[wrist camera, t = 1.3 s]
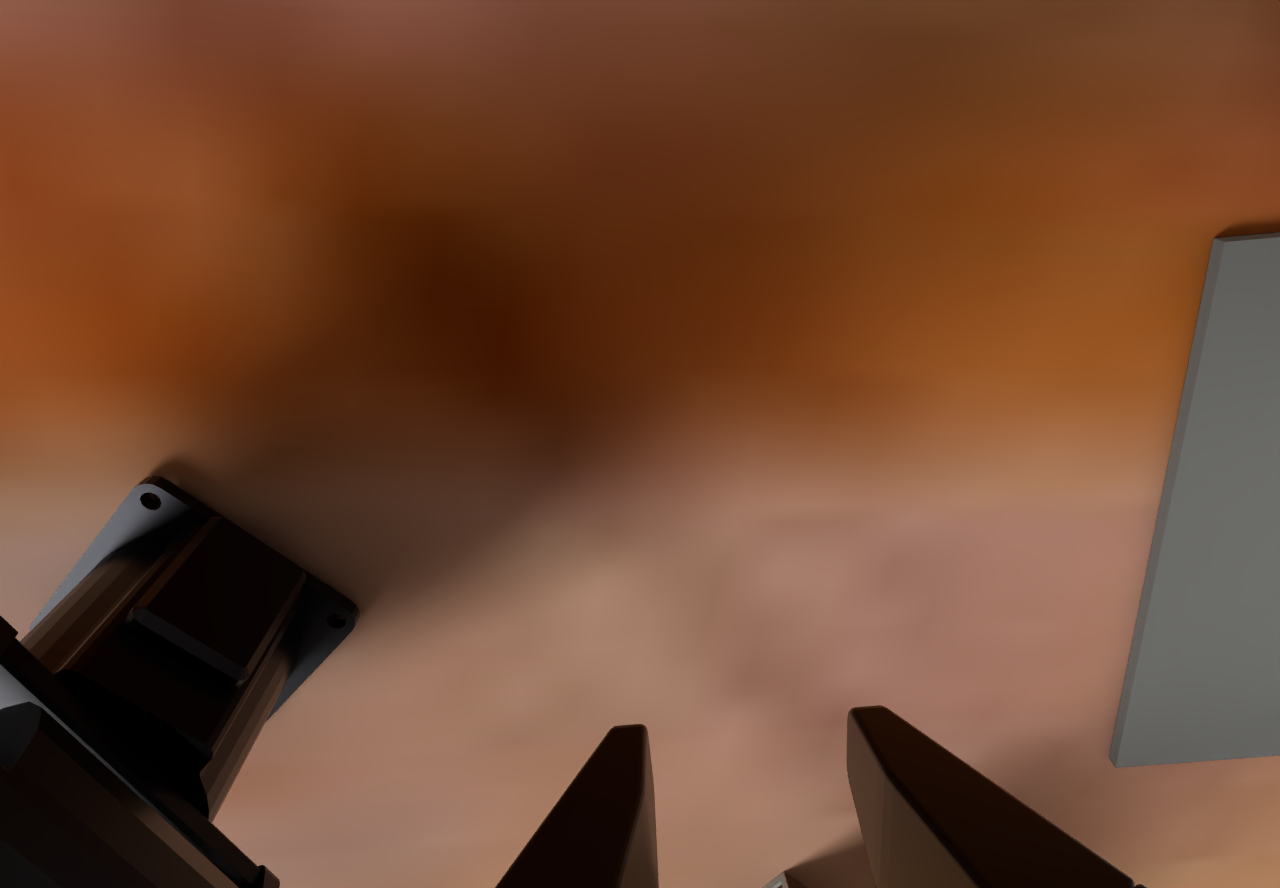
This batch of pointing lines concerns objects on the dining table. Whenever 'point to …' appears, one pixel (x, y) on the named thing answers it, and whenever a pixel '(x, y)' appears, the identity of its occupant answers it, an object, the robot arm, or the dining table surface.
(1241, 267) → the mat
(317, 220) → the dining table surface
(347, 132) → the dining table surface
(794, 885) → the food container
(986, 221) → the dining table surface
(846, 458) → the dining table surface
